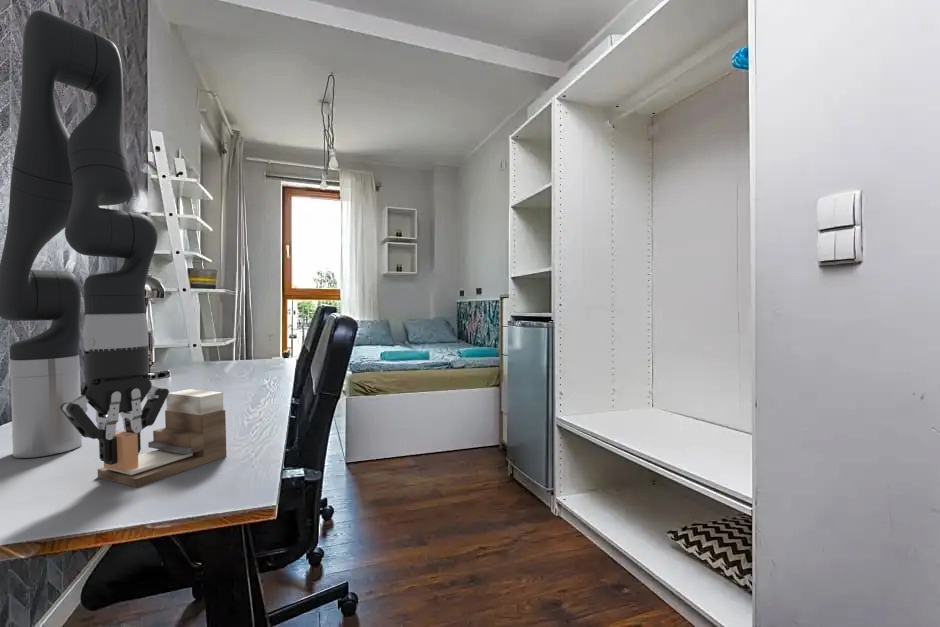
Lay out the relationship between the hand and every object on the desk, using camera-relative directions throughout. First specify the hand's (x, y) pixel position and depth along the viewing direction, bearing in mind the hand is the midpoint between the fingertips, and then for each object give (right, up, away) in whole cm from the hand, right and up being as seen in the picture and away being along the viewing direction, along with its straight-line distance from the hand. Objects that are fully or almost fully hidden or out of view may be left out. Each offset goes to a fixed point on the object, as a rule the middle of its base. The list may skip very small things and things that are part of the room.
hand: (120, 460), depth 65 cm
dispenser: (+3, -3, +7) cm, 8 cm away
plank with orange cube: (+2, -2, +3) cm, 4 cm away
